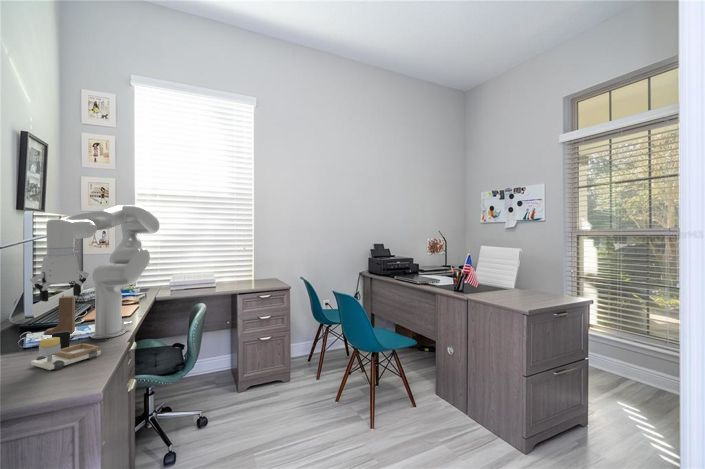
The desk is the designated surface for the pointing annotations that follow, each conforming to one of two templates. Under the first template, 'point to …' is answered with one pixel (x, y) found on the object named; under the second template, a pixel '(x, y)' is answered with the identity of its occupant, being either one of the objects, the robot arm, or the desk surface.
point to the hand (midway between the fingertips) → (61, 298)
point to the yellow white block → (49, 346)
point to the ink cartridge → (63, 338)
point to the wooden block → (65, 316)
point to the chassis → (67, 356)
